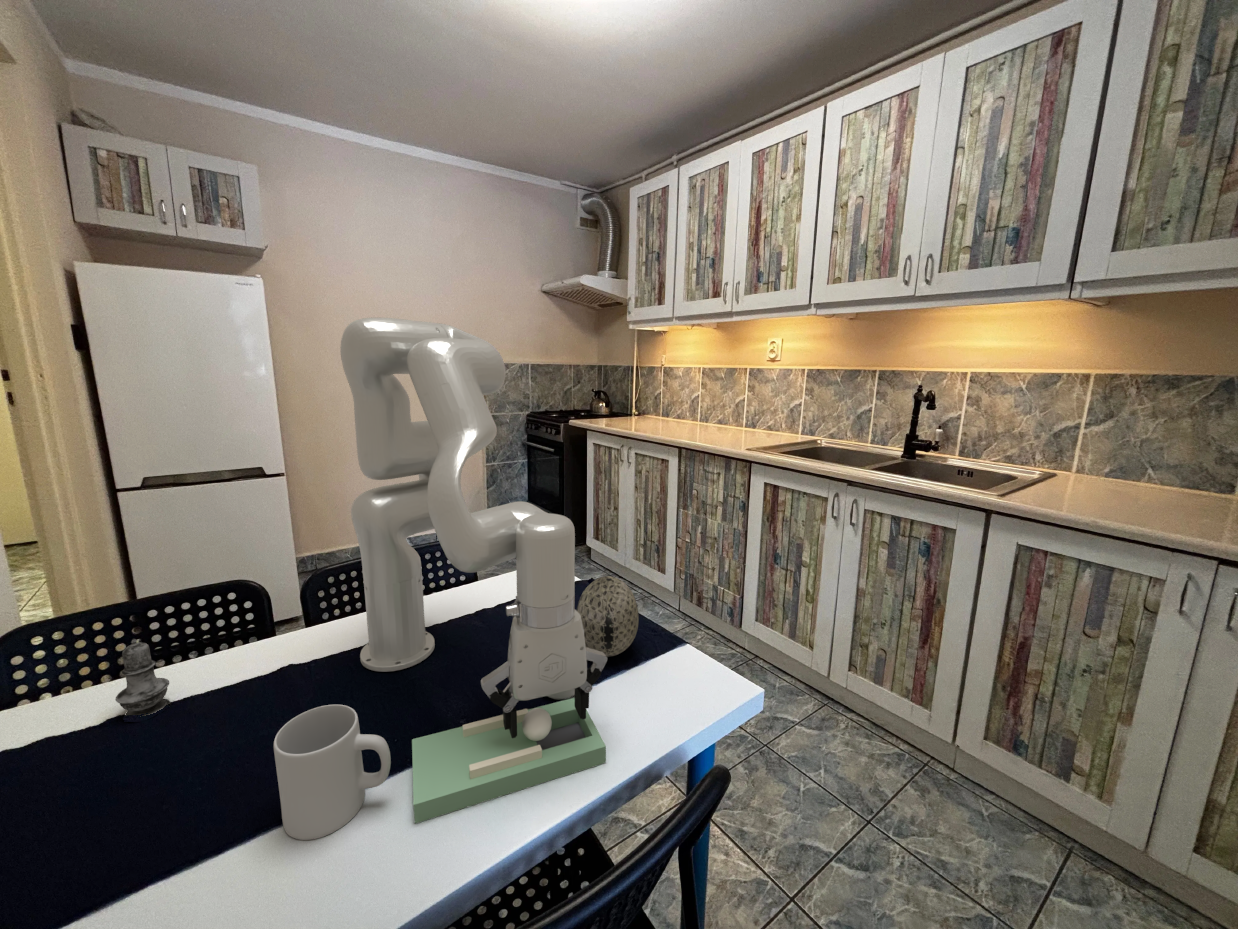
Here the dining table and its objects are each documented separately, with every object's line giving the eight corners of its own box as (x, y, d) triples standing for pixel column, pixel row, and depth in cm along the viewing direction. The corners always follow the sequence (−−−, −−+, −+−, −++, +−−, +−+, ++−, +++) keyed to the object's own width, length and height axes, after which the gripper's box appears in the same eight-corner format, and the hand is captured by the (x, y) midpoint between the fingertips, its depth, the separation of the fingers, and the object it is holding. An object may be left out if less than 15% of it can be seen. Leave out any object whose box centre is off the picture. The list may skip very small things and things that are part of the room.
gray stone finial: (180, 705, 76) (169, 634, 74) (131, 729, 71) (116, 654, 68) (161, 693, 78) (148, 625, 76) (111, 716, 73) (96, 643, 71)
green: (413, 756, 67) (411, 731, 66) (579, 711, 76) (579, 689, 76) (414, 824, 57) (412, 796, 56) (605, 762, 67) (606, 738, 66)
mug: (267, 845, 54) (255, 759, 52) (305, 781, 63) (296, 705, 60) (381, 834, 56) (374, 750, 54) (403, 774, 64) (398, 699, 62)
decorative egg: (635, 635, 98) (637, 565, 96) (639, 671, 87) (642, 592, 84) (577, 635, 98) (577, 565, 95) (573, 671, 87) (574, 592, 84)
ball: (554, 709, 70) (536, 732, 69) (533, 697, 68) (514, 720, 68) (560, 728, 66) (541, 752, 66) (537, 715, 65) (518, 740, 64)
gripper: (482, 634, 58) (487, 759, 61) (617, 609, 65) (615, 723, 68) (475, 606, 65) (479, 720, 68) (597, 586, 71) (596, 691, 75)
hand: (547, 721), depth 68 cm, fingers open, 9 cm apart
